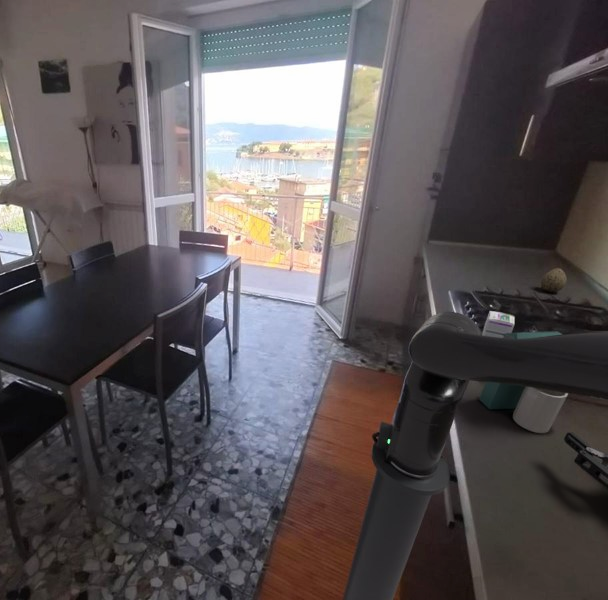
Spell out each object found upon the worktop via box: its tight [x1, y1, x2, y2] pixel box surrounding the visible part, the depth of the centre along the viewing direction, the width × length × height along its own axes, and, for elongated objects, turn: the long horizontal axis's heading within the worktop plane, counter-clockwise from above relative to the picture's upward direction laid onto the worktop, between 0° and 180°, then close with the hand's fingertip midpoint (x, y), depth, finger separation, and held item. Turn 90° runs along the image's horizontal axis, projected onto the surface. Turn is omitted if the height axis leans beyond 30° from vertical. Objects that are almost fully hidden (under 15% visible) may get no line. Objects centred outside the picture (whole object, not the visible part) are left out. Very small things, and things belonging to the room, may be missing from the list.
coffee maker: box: [478, 330, 562, 410], centre depth 79 cm, size 10×12×19 cm
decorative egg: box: [540, 267, 567, 293], centre depth 140 cm, size 7×7×10 cm
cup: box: [512, 386, 569, 434], centre depth 78 cm, size 6×6×10 cm
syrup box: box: [481, 310, 516, 338], centre depth 98 cm, size 6×6×14 cm
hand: (589, 434), depth 68 cm, fingers open, 8 cm apart
